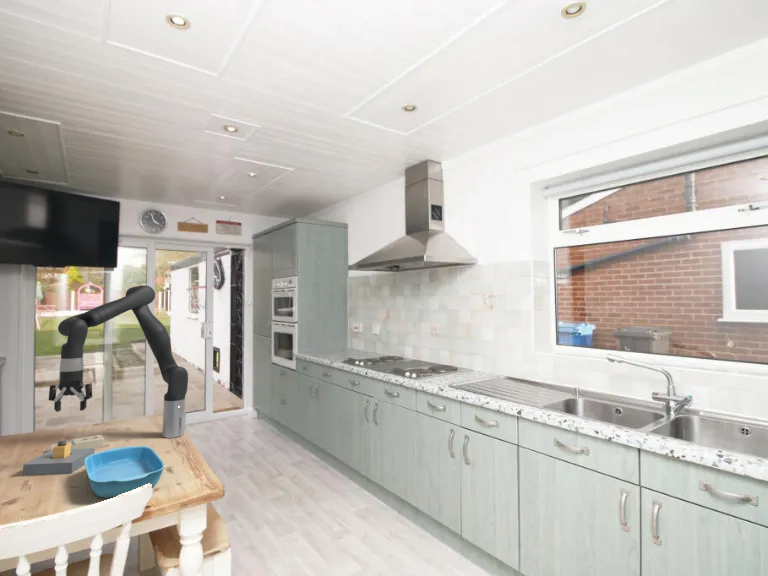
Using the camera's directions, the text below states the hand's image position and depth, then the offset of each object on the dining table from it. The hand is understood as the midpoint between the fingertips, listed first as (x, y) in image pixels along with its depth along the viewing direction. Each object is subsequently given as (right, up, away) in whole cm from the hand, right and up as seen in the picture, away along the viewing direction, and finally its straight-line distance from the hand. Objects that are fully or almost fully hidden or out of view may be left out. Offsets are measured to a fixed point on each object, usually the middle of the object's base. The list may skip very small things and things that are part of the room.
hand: (70, 410), depth 164 cm
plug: (-1, -19, -4) cm, 20 cm away
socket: (-1, -20, -4) cm, 21 cm away
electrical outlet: (-9, -22, +16) cm, 29 cm away
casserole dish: (+31, -21, -15) cm, 40 cm away
